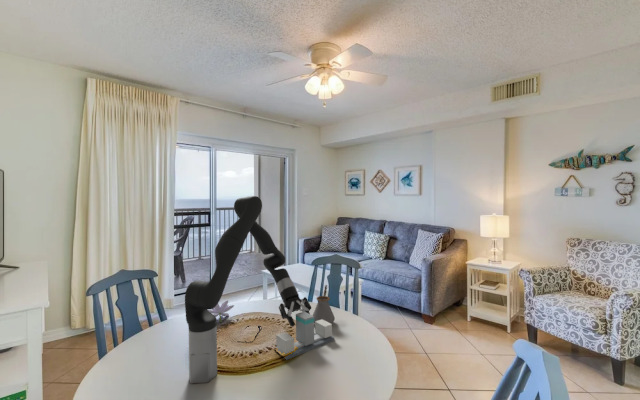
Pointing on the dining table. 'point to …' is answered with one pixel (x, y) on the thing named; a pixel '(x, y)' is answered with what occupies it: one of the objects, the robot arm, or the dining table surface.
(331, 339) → the rail panel
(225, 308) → the water lily
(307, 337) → the block
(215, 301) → the robot arm
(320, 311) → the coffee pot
